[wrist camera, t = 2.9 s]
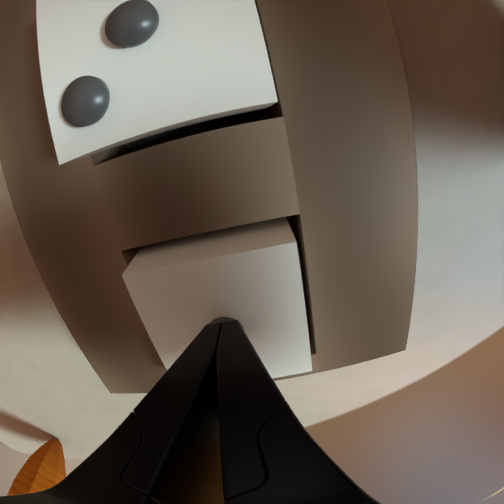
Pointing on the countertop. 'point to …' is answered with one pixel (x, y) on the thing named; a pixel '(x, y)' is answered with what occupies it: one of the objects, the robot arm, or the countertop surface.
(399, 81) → the key panel
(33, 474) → the carrot
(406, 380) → the countertop surface
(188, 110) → the key three dots
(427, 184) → the countertop surface
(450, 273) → the countertop surface
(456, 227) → the countertop surface
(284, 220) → the key one dot
